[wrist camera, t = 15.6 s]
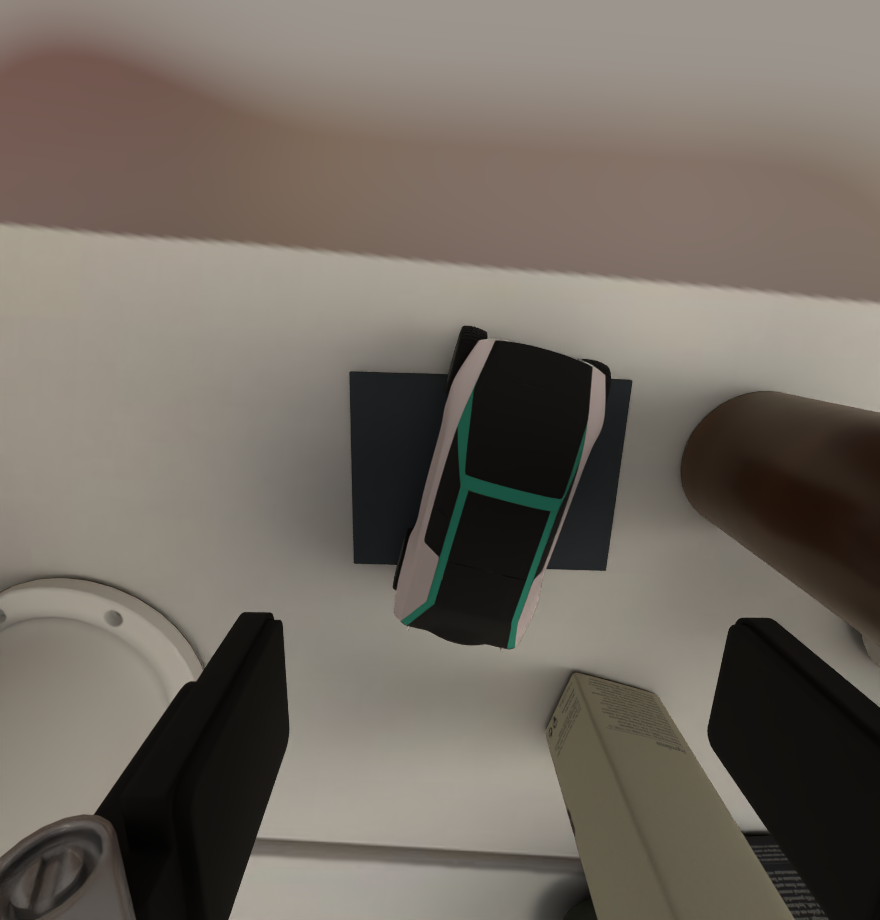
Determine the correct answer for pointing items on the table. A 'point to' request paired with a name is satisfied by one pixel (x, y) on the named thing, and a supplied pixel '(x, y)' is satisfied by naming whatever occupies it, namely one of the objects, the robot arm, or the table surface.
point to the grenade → (582, 912)
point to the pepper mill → (797, 494)
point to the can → (872, 650)
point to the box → (649, 813)
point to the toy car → (497, 488)
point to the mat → (410, 455)
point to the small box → (786, 879)
